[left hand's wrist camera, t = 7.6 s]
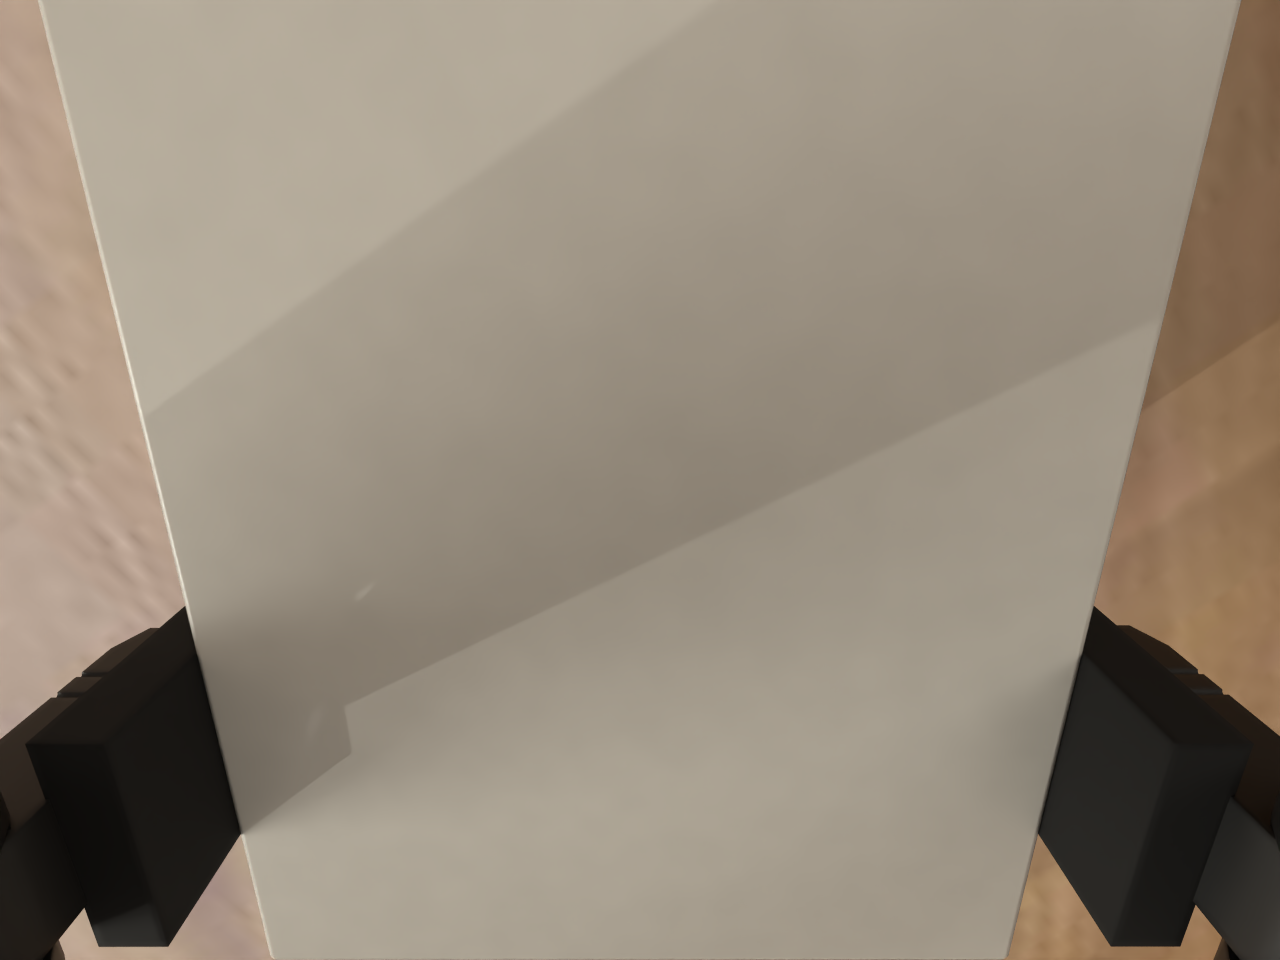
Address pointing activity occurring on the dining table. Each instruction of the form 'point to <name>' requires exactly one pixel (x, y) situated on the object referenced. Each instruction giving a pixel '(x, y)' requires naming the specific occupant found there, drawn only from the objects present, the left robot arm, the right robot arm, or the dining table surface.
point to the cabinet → (639, 441)
